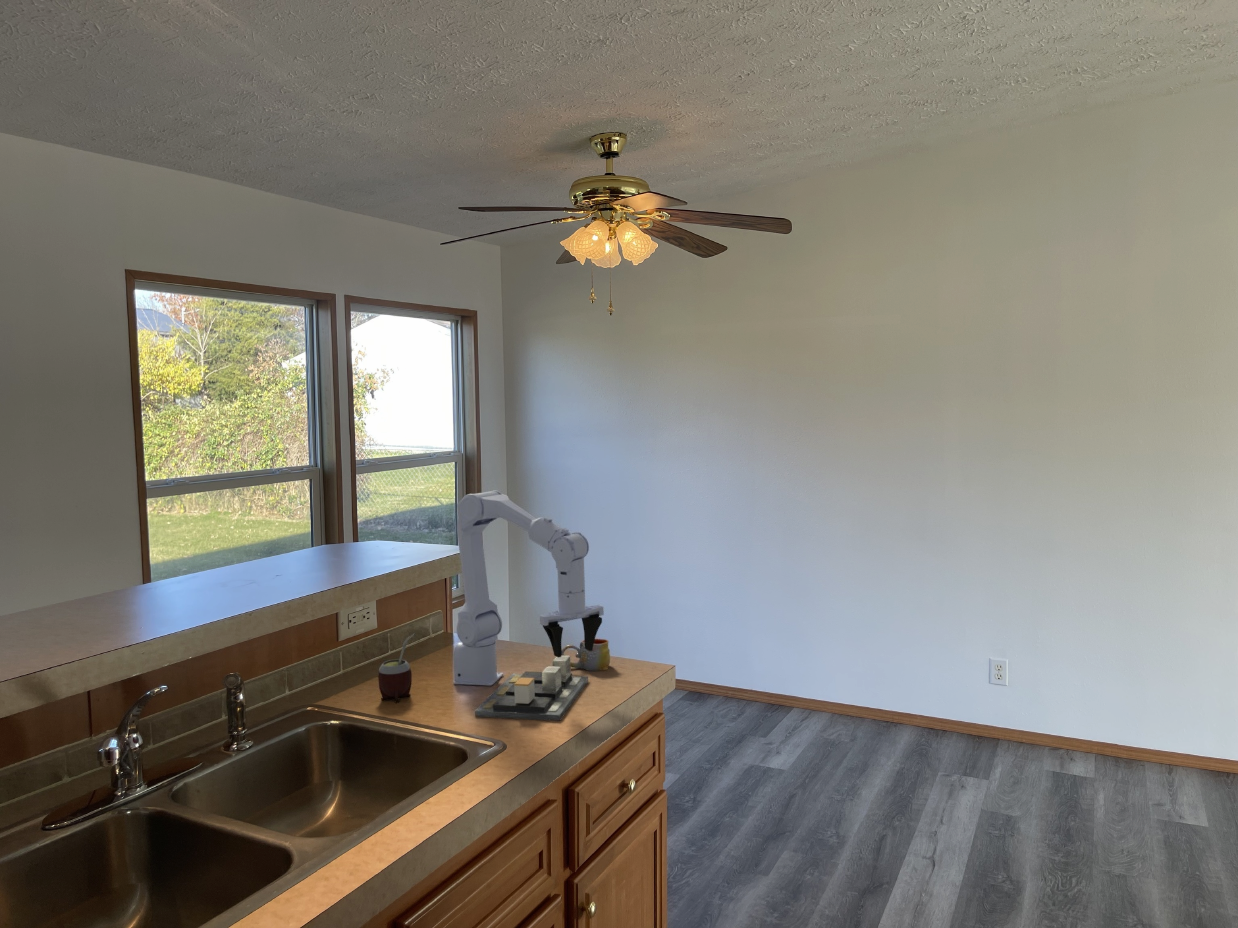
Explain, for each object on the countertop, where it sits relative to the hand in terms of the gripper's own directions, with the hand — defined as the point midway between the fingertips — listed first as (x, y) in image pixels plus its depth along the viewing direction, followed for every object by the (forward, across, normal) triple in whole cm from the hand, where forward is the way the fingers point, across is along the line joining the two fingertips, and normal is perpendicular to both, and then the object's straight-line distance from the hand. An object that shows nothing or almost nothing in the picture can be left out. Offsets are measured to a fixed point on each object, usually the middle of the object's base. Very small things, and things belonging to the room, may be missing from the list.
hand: (573, 652), depth 178 cm
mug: (+10, +12, +17) cm, 24 cm away
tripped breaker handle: (+8, -12, -1) cm, 14 cm away
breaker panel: (+10, -7, +5) cm, 13 cm away
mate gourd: (+10, -32, +23) cm, 40 cm away
